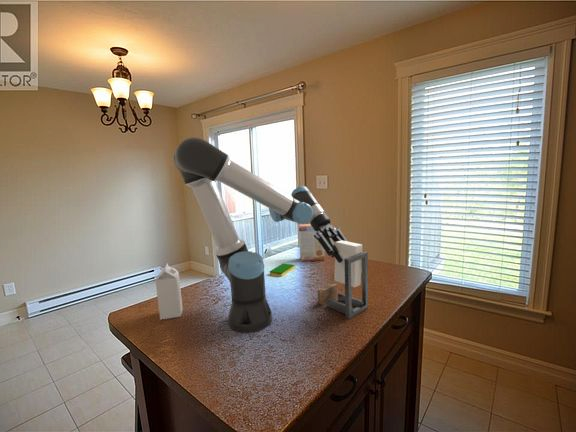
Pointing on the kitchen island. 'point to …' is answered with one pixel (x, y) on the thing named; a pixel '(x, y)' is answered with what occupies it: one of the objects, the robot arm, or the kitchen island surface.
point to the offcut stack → (327, 293)
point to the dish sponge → (282, 270)
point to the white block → (348, 251)
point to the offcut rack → (347, 297)
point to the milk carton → (169, 293)
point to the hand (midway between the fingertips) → (351, 267)
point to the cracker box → (309, 244)
